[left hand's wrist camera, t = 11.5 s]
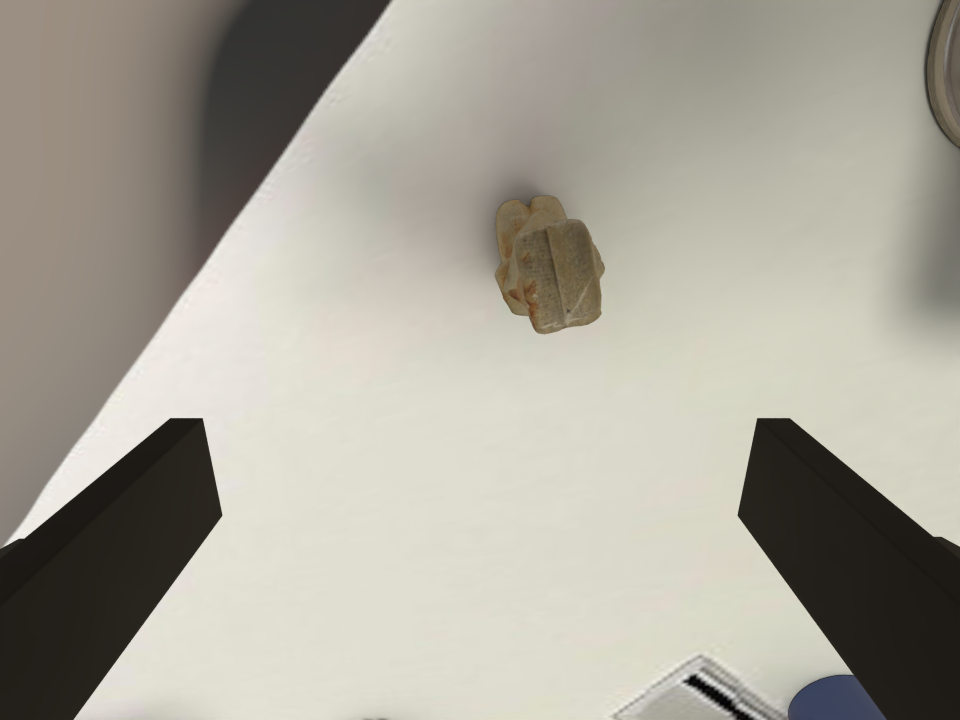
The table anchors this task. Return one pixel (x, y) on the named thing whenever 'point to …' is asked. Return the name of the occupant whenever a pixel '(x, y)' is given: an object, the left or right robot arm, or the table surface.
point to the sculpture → (547, 265)
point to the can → (834, 701)
